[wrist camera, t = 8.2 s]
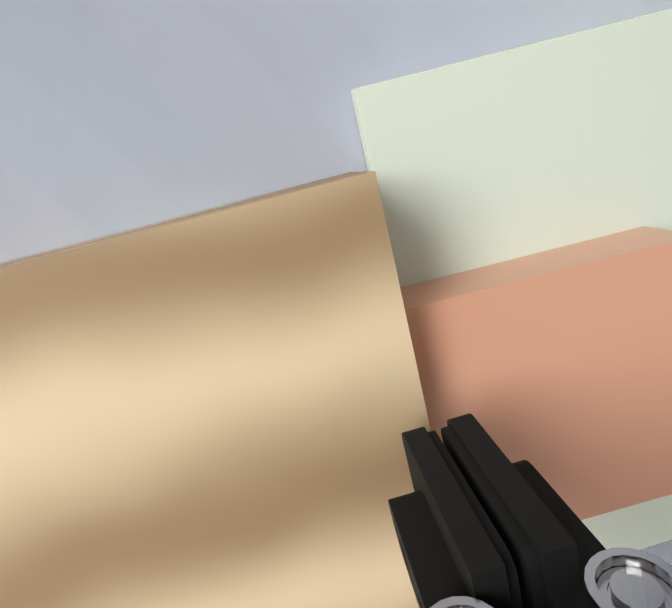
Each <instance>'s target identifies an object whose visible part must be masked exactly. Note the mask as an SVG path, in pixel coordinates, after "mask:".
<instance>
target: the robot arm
mask: <svg viewBox="0 0 672 608" xmlns="http://www.w3.org/2000/svg"><path fill="white" fill-rule="evenodd" d="M441 435H442V440H443V442H442V441H441V439H440V437H439V436H438V434H437V432H436V431H435V430H433V431H429V432H427V430H426V428H425V427H420V428H417V429H413V430H410V431H406V432H403V433H402V440H403V445H404V449H405V453H406V458H407V462H408V466H409V470H410V475H411V479H412V483H413V488H414V492H412V493H409V494H406V495H402V496H399V497H395V498H392V499H389V500H388V503H389V508H390V512H391V516H392V519H393V523H394V527H395V531H396V535H397V538H398V542H399V545H400V549H401V552H402V555H403V559H404V562H405V565H406V568H407V571H408V574H409V578H410V581H411V584H412V587H413V590H414V593H415V596H416V599H417V602H418V605H419V608H672V566H671V565H670V564H668V563H667V562H665V561H664V560H662V559H660V558H659V557H657V556H654V555H652V554H649V553H647V552H644V551H642V550H637V549H631V548H610V549H606V548H605V547H604V546H603V545H602V544H601V543H600V542H599V540H598V539H597V538H596V537H595V536H594V535H593V534H592V533H591V531H590V530H589V529H588V528H587V527H586V526H585V525H584V523H583V522H582V521H581V520H580V519H579V518H578V517H577V515H576V514H575V513H574V512H573V511H572V510H571V509H570V507H569V506H568V505H567V504H566V503H565V502H564V501H563V499H562V498H561V497H560V496H559V495H558V494H557V493H556V491H555V490H554V489H553V488H552V487H551V486H550V485H549V483H548V482H547V481H546V480H545V479H544V478H543V477H542V475H541V474H540V473H539V472H538V471H537V470H536V469H535V467H534V466H533V465H532V464H531V463H530V462H529V461H527V460H521V461H518V462H515V463H511V462H510V460H509V459H508V458H507V457H506V456H505V454H504V453H503V452H502V451H501V449H500V448H499V447H498V446H497V444H496V443H495V442H494V441H493V439H492V438H491V437H490V436H489V435H488V433H487V432H486V431H485V430H484V428H483V427H482V426H481V425H480V423H479V422H478V421H477V420H476V418H475V417H474V416H473V415H472V414H470V413H469V414H465V415H462V416H458V417H455V418H451V419H448V420H447V427H443V428H441Z"/></svg>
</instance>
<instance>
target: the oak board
mask: <svg viewBox="0 0 672 608" xmlns="http://www.w3.org/2000/svg"><path fill="white" fill-rule="evenodd" d="M420 427H425V428H426V430H427V432H429V431H431V430H430V425H429V420H428V416H427V411H426V406H425V401H424V397H423V392H422V387H421V383H420V378H419V373H418V369H417V364H416V359H415V355H414V350H413V345H412V341H411V336H410V331H409V327H408V322H407V317H406V313H405V308H404V303H403V299H402V294H401V289H400V285H399V280H398V275H397V271H396V266H395V261H394V256H393V252H392V247H391V242H390V238H389V233H388V228H387V224H386V219H385V214H384V210H383V205H382V200H381V196H380V191H379V186H378V182H377V177H376V172H375V171H367V172H349V173H345V174H342V175H338V176H334V177H330V178H326V179H323V180H319V181H315V182H311V183H307V184H303V185H300V186H296V187H292V188H288V189H284V190H280V191H277V192H273V193H269V194H265V195H261V196H257V197H254V198H250V199H246V200H242V201H238V202H235V203H231V204H227V205H223V206H219V207H215V208H212V209H208V210H204V211H200V212H196V213H192V214H189V215H185V216H181V217H177V218H173V219H169V220H166V221H162V222H158V223H154V224H150V225H147V226H143V227H139V228H135V229H131V230H127V231H124V232H120V233H116V234H112V235H108V236H104V237H101V238H97V239H93V240H89V241H85V242H81V243H78V244H74V245H70V246H66V247H62V248H59V249H55V250H51V251H47V252H43V253H39V254H36V255H32V256H28V257H24V258H20V259H16V260H13V261H9V262H5V263H1V264H0V608H419V605H418V602H417V599H416V596H415V593H414V590H413V587H412V584H411V581H410V578H409V574H408V571H407V568H406V565H405V562H404V559H403V555H402V552H401V549H400V545H399V542H398V538H397V535H396V531H395V527H394V523H393V519H392V516H391V512H390V508H389V503H388V500H389V499H392V498H395V497H399V496H402V495H406V494H409V493H412V492H414V488H413V483H412V479H411V475H410V470H409V466H408V462H407V458H406V453H405V449H404V445H403V440H402V433H403V432H406V431H410V430H413V429H417V428H420Z"/></svg>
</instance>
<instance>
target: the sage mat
mask: <svg viewBox="0 0 672 608" xmlns="http://www.w3.org/2000/svg"><path fill="white" fill-rule="evenodd" d="M351 96H352V100H353V105H354V109H355V114H356V119H357V123H358V128H359V132H360V137H361V141H362V146H363V151H364V155H365V160H366V164H367V169H368V171H375V172H376V177H377V182H378V186H379V191H380V196H381V200H382V205H383V210H384V214H385V219H386V224H387V228H388V233H389V238H390V242H391V247H392V252H393V256H394V261H395V266H396V271H397V275H398V280H399V285H400V287H404V286H408V285H412V284H416V283H420V282H424V281H428V280H432V279H436V278H439V277H443V276H447V275H451V274H455V273H459V272H463V271H467V270H471V269H475V268H479V267H483V266H487V265H491V264H495V263H499V262H503V261H507V260H511V259H515V258H519V257H523V256H527V255H531V254H535V253H539V252H543V251H547V250H550V249H554V248H558V247H562V246H566V245H570V244H574V243H578V242H582V241H586V240H590V239H594V238H598V237H602V236H606V235H610V234H614V233H618V232H622V231H626V230H630V229H634V228H638V227H642V226H645V227H653V228H660V229H667V230H672V8H671V9H667V10H663V11H659V12H655V13H651V14H647V15H644V16H640V17H636V18H632V19H628V20H624V21H620V22H616V23H612V24H608V25H604V26H600V27H596V28H592V29H588V30H584V31H580V32H576V33H572V34H568V35H564V36H560V37H557V38H553V39H549V40H545V41H541V42H537V43H533V44H529V45H525V46H521V47H517V48H513V49H509V50H505V51H501V52H497V53H493V54H489V55H485V56H481V57H477V58H473V59H470V60H466V61H462V62H458V63H454V64H450V65H446V66H442V67H438V68H434V69H430V70H426V71H422V72H418V73H414V74H410V75H406V76H402V77H398V78H394V79H390V80H386V81H382V82H379V83H375V84H371V85H367V86H363V87H359V88H355V89H353V90H352V91H351ZM581 521H582V522H583V523H584V525H585V526H586V527H587V528H588V529H589V530H590V531H591V533H592V534H593V535H594V536H595V537H596V538H597V539H598V540H599V542H600V543H601V544H602V545H603V546H604V547H605V548H606V549H610V548H631V549H637V550H641V549H644V548H647V547H651V546H654V545H657V544H660V543H663V542H667V541H670V540H672V494H671V495H667V496H664V497H660V498H657V499H653V500H650V501H646V502H643V503H639V504H636V505H632V506H629V507H625V508H622V509H618V510H615V511H611V512H608V513H604V514H601V515H597V516H594V517H590V518H587V519H583V520H581Z"/></svg>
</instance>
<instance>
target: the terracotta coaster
mask: <svg viewBox="0 0 672 608" xmlns="http://www.w3.org/2000/svg"><path fill="white" fill-rule="evenodd" d="M400 289H401V294H402V299H403V303H404V308H405V313H406V317H407V322H408V327H409V331H410V336H411V341H412V345H413V350H414V355H415V359H416V364H417V369H418V373H419V378H420V383H421V387H422V392H423V397H424V401H425V406H426V411H427V416H428V420H429V425H430V430H431V431H433V430H435V431H436V432H437V434H438V436H439V437H440V439H441V441H442V442H443V440H442V435H441V428H443V427H447V420H448V419H451V418H455V417H458V416H462V415H465V414H469V413H470V414H472V415H473V416H474V417H475V418H476V420H477V421H478V422H479V423H480V425H481V426H482V427H483V428H484V430H485V431H486V432H487V433H488V435H489V436H490V437H491V438H492V439H493V441H494V442H495V443H496V444H497V446H498V447H499V448H500V449H501V451H502V452H503V453H504V454H505V456H506V457H507V458H508V459H509V460H510V462H511V463H515V462H518V461H521V460H527V461H529V462H530V463H531V464H532V465H533V466H534V467H535V469H536V470H537V471H538V472H539V473H540V474H541V475H542V477H543V478H544V479H545V480H546V481H547V482H548V483H549V485H550V486H551V487H552V488H553V489H554V490H555V491H556V493H557V494H558V495H559V496H560V497H561V498H562V499H563V501H564V502H565V503H566V504H567V505H568V506H569V507H570V509H571V510H572V511H573V512H574V513H575V514H576V515H577V517H578V518H579V519H580V520H583V519H587V518H590V517H594V516H597V515H601V514H604V513H608V512H611V511H615V510H618V509H622V508H625V507H629V506H632V505H636V504H639V503H643V502H646V501H650V500H653V499H657V498H660V497H664V496H667V495H671V494H672V230H667V229H660V228H653V227H645V226H642V227H638V228H634V229H630V230H626V231H622V232H618V233H614V234H610V235H606V236H602V237H598V238H594V239H590V240H586V241H582V242H578V243H574V244H570V245H566V246H562V247H558V248H554V249H550V250H547V251H543V252H539V253H535V254H531V255H527V256H523V257H519V258H515V259H511V260H507V261H503V262H499V263H495V264H491V265H487V266H483V267H479V268H475V269H471V270H467V271H463V272H459V273H455V274H451V275H447V276H443V277H439V278H436V279H432V280H428V281H424V282H420V283H416V284H412V285H408V286H404V287H400Z"/></svg>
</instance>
